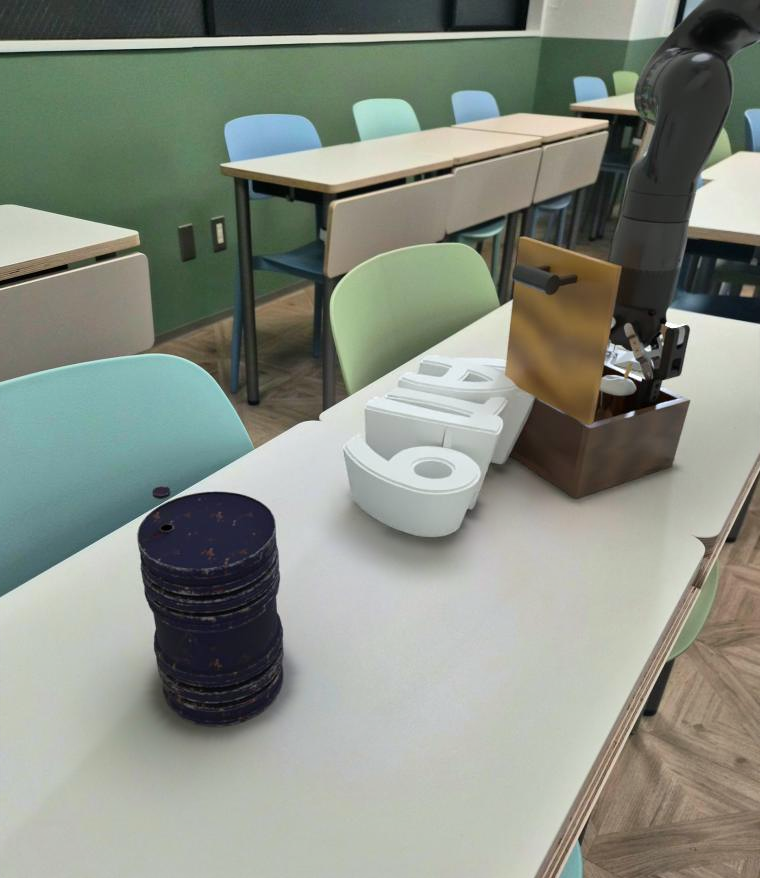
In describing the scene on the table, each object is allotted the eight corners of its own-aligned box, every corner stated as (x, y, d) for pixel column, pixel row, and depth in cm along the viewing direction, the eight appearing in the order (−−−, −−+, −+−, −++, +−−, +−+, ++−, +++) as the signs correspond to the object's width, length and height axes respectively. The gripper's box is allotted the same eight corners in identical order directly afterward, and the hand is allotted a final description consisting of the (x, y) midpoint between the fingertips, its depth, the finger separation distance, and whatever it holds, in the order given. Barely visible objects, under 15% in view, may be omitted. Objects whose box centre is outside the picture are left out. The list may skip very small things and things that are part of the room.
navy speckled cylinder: (288, 636, 64) (280, 455, 54) (281, 727, 55) (271, 531, 46) (173, 637, 63) (145, 455, 54) (149, 728, 55) (111, 532, 46)
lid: (524, 236, 80) (486, 242, 78) (622, 266, 70) (581, 274, 68) (509, 378, 89) (474, 387, 87) (593, 424, 79) (556, 435, 76)
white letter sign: (446, 404, 103) (451, 332, 98) (561, 432, 96) (573, 355, 91) (308, 521, 78) (305, 432, 72) (450, 571, 70) (459, 476, 65)
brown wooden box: (589, 421, 100) (602, 360, 96) (672, 466, 90) (690, 399, 85) (497, 447, 94) (506, 382, 89) (575, 499, 83) (590, 428, 79)
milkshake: (631, 442, 93) (648, 369, 88) (612, 456, 90) (629, 381, 85) (598, 430, 96) (613, 359, 91) (578, 444, 92) (593, 370, 87)
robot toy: (651, 373, 115) (655, 358, 114) (578, 356, 121) (581, 342, 120) (665, 360, 120) (669, 345, 119) (594, 344, 126) (597, 330, 125)
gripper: (723, 270, 77) (685, 409, 85) (620, 241, 88) (596, 368, 96) (674, 279, 74) (640, 423, 82) (574, 248, 85) (552, 378, 93)
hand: (616, 393), depth 89 cm, fingers open, 8 cm apart
